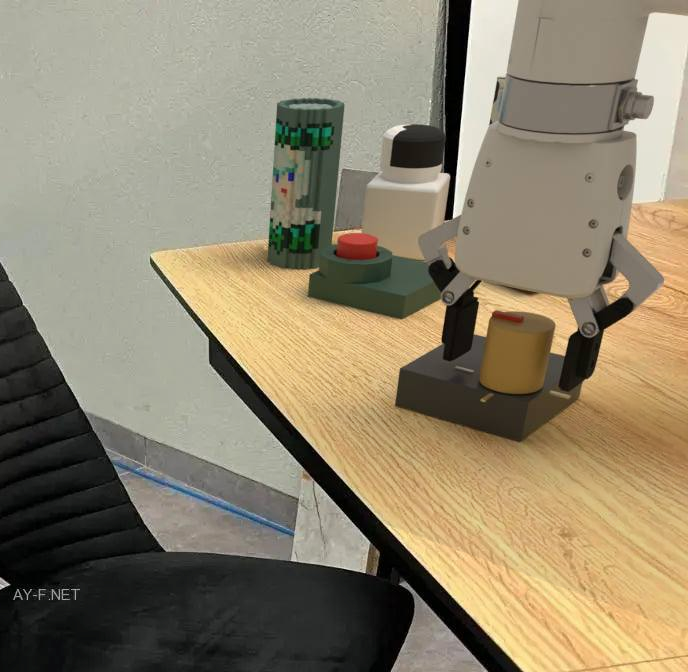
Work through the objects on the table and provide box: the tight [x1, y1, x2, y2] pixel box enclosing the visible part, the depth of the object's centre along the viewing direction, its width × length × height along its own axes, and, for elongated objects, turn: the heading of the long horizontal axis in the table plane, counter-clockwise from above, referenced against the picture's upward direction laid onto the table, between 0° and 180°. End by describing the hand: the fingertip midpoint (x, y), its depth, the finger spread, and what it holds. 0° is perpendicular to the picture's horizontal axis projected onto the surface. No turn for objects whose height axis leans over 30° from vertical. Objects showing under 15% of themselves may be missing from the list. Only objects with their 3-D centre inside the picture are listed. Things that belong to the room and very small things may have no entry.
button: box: [336, 232, 378, 260], centre depth 105 cm, size 4×4×2 cm
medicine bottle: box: [361, 123, 451, 262], centre depth 116 cm, size 7×7×12 cm
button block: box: [307, 243, 441, 320], centre depth 107 cm, size 10×10×4 cm
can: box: [267, 97, 345, 271], centre depth 113 cm, size 6×6×15 cm
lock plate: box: [394, 333, 583, 443], centre depth 84 cm, size 12×12×3 cm
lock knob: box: [479, 309, 557, 394], centre depth 80 cm, size 4×4×5 cm
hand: (512, 369), depth 81 cm, fingers open, 8 cm apart
